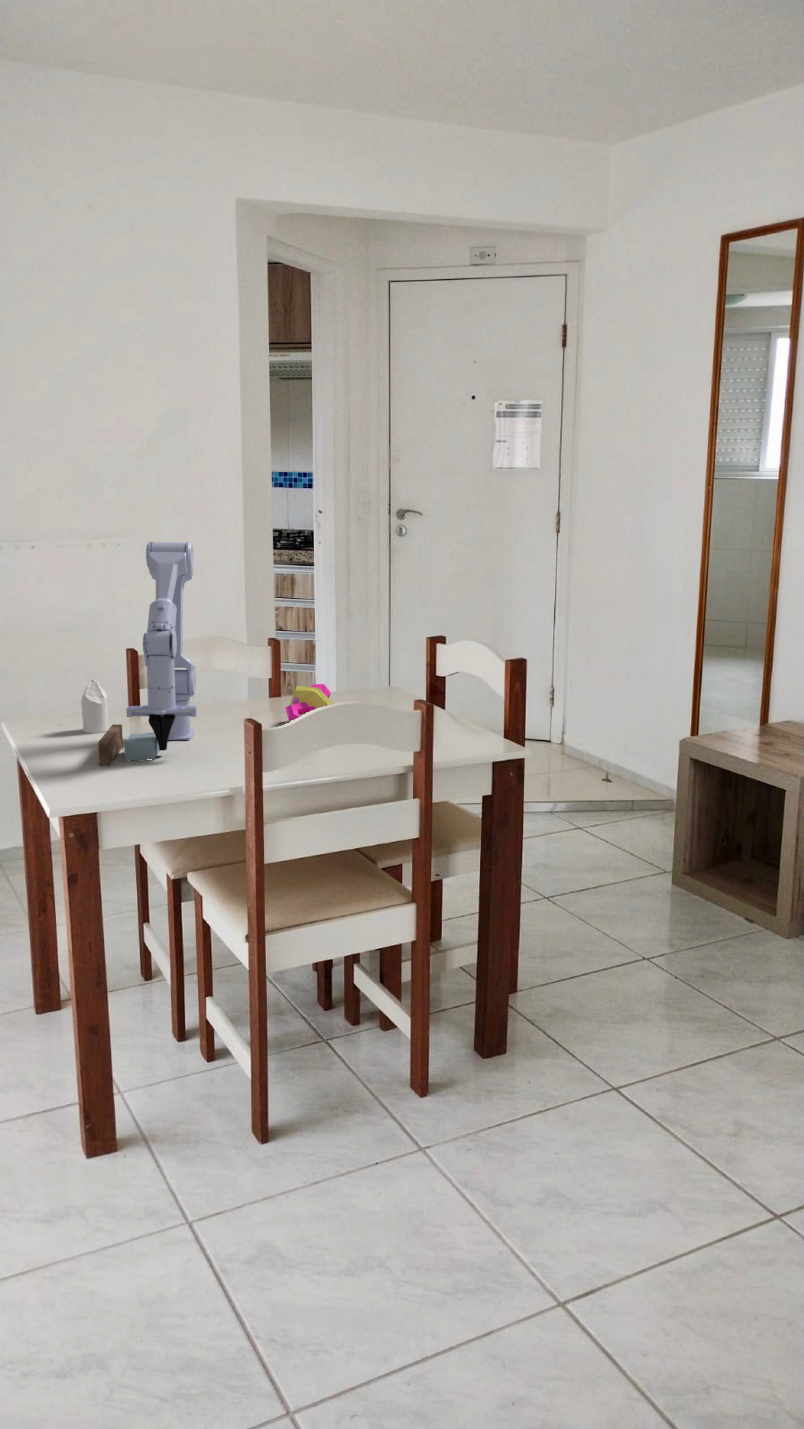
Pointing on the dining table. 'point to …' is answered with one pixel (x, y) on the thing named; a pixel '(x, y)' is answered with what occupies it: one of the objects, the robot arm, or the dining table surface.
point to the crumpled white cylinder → (94, 708)
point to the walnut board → (110, 744)
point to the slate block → (141, 747)
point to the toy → (308, 700)
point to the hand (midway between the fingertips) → (163, 749)
